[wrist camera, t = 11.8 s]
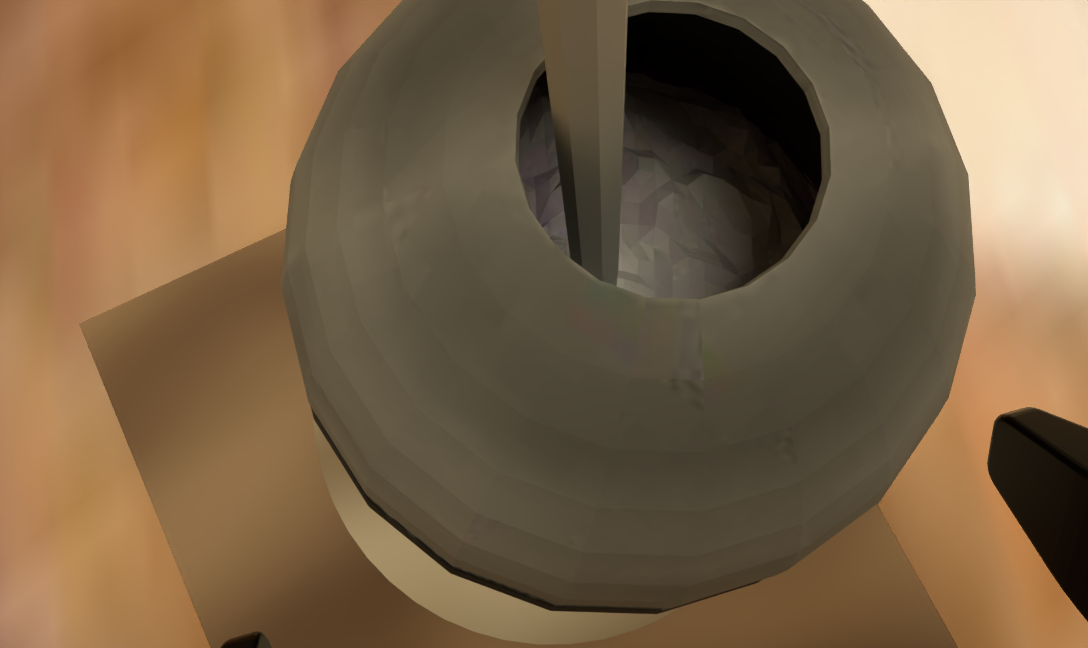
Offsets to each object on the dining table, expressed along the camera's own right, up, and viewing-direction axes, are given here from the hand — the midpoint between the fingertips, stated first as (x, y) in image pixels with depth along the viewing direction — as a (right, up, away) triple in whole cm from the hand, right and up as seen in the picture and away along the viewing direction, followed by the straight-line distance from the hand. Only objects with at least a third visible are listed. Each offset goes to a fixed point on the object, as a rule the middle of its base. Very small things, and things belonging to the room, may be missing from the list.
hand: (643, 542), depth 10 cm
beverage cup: (-1, +1, +11) cm, 11 cm away
